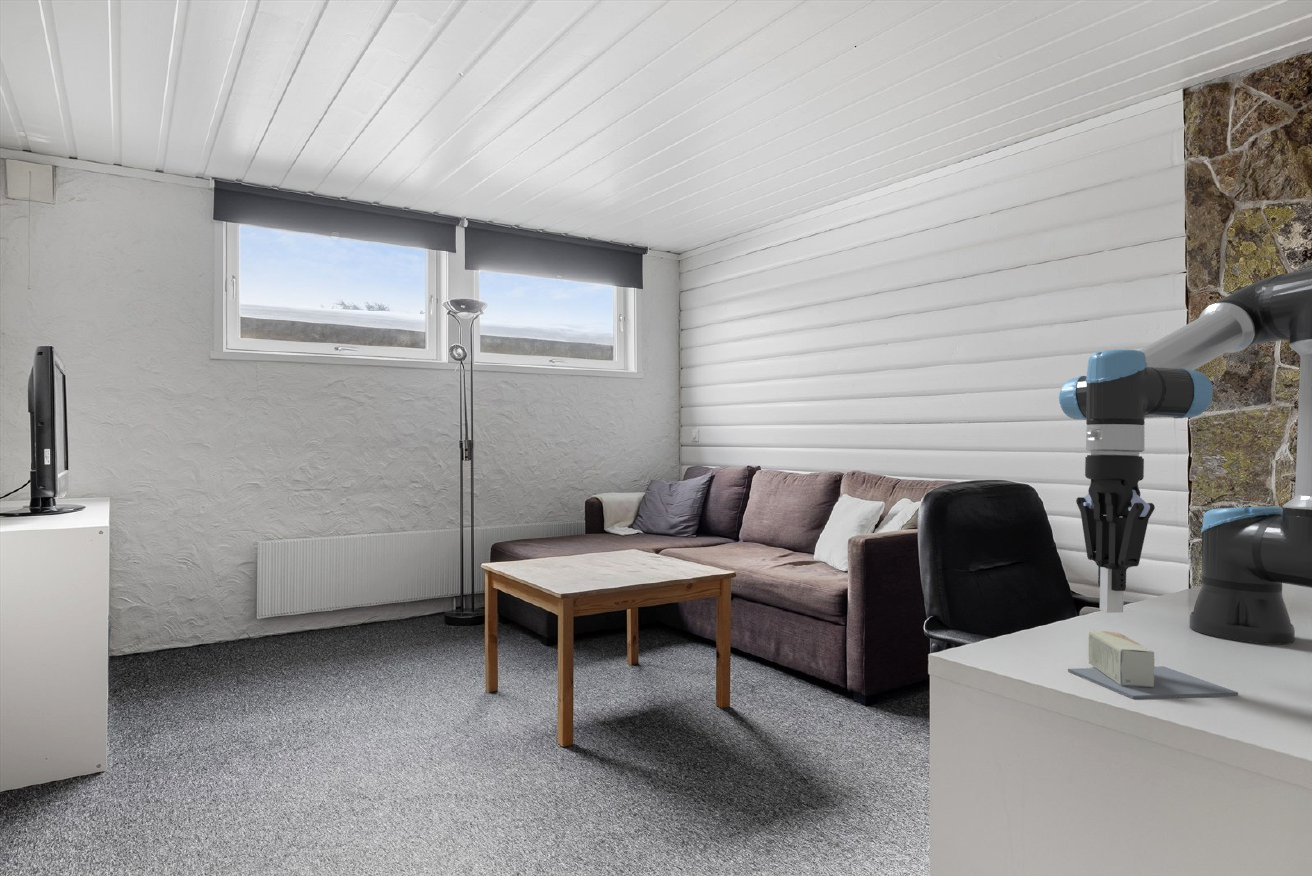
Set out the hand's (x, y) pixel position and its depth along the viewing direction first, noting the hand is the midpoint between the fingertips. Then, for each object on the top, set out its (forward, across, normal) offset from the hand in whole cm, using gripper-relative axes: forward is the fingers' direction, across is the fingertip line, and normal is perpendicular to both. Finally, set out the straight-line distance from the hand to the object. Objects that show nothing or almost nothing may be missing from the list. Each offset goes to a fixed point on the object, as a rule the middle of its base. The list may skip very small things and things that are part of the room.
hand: (1111, 611), depth 112 cm
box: (+5, -1, -1) cm, 5 cm away
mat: (+9, +7, 0) cm, 11 cm away
